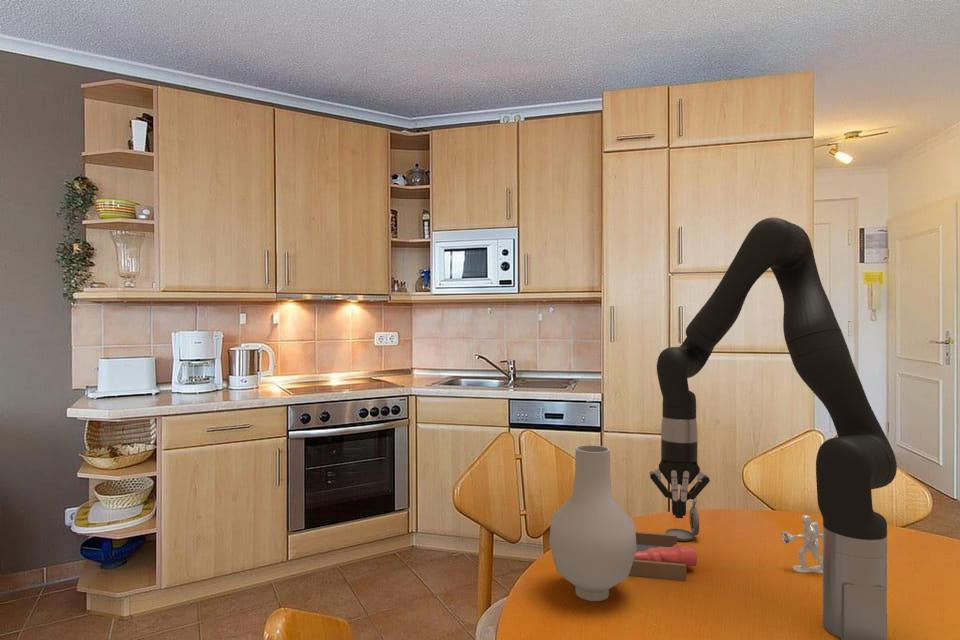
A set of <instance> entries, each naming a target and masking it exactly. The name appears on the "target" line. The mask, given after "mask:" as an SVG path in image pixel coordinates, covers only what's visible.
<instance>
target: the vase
mask: <svg viewBox="0 0 960 640" xmlns="http://www.w3.org/2000/svg"><path fill="white" fill-rule="evenodd" d="M574 457H575V460H574V461H575V463H574V466H575V468H574V469H575V470H574V480H573V484H572V491H571V492H572V493H571V496H570V497H569V498H568V499H567V500H566V501H565V502H564V503H563V504H562V505H561V506H560V507H559V508H558V509H557V510H556V511H555V512H554V514H552V516H550V526H549V528H550V529H549V540H548V541H549V548H550V552H551V556H552V559H553V563H554V566H555V570H556V571H557V573H558V574H559V575H560V577H562V578H563V579H565V580H567V581H568V583H570V584H572V585H573V586H574V587H575V589H574V590H575V595H576V596H577V597H578V598H580V599H581V600H585V601H590V602H600V601H604V600H606V599H608V598H609V596H610V589H612V588H614V587H615V586H616V585H618V584H620V583H621V582H623V581H626V580H627V579H628V577H629V576H630V575H629V574H630V570H631V567H632V564H633V560H634V557H635V554H636V551H637V546H636V532H637V530H636V524H635V522H634V520H633V518H631V516H630V515H629V514H628V513H627V511H625V509H624V508H623V507H622V506H621V505H620V504H619V502H618V501H616V499H615V497H614V495H613V488H612V486H613V485H612V479H611V450H610V448H609V447H608V446H607V447H606V446H603V445H595V444H594V445H592V444H585V445H578V446H575V456H574Z"/></svg>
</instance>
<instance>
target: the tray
mask: <svg viewBox="0 0 960 640" xmlns="http://www.w3.org/2000/svg"><path fill="white" fill-rule="evenodd" d="M675 544H678V540H677V535H673V534H665V533H660V532H659V533H658V532H647V531H645V532H644V531H636V546H637V551H636V552H639V551H646V550H648V549H649V548H657V547H673V546H674V545H675ZM629 576H632V577H640V578H641V577H643V578H654V579H665V580H674V581H683V582H687V566H686V564H679V563H668V562H657V561H646V560H635V559H634V560H633V564H632V567H631V570H630V574H629Z"/></svg>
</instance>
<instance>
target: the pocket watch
mask: <svg viewBox="0 0 960 640" xmlns="http://www.w3.org/2000/svg"><path fill="white" fill-rule="evenodd" d="M697 500H698V499H697V497H696V498H695V499H692V506H691V507H690V510H689V527H690V530H686V529H683V528H669V529H666V530H665V532H664V534H673V535H677V542H679V541H680V542H688V541H692V540H694V537H695V536H698V535H699V533H700V516H699V510H698V508H697V507H696V504H697V502H698V501H697Z"/></svg>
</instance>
